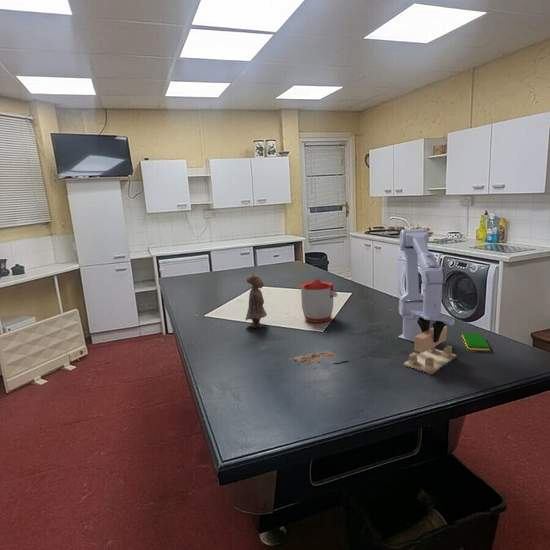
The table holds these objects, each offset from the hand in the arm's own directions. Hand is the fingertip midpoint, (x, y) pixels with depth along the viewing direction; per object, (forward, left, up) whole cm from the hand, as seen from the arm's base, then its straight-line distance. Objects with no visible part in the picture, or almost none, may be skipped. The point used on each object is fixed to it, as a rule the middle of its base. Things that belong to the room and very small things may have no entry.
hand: (431, 340), depth 134 cm
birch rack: (0, 0, -8) cm, 8 cm away
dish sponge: (-25, +5, -9) cm, 27 cm away
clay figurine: (+17, -76, -8) cm, 78 cm away
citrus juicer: (-9, -60, -8) cm, 61 cm away
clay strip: (0, 0, -2) cm, 2 cm away
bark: (+26, -30, -8) cm, 41 cm away
